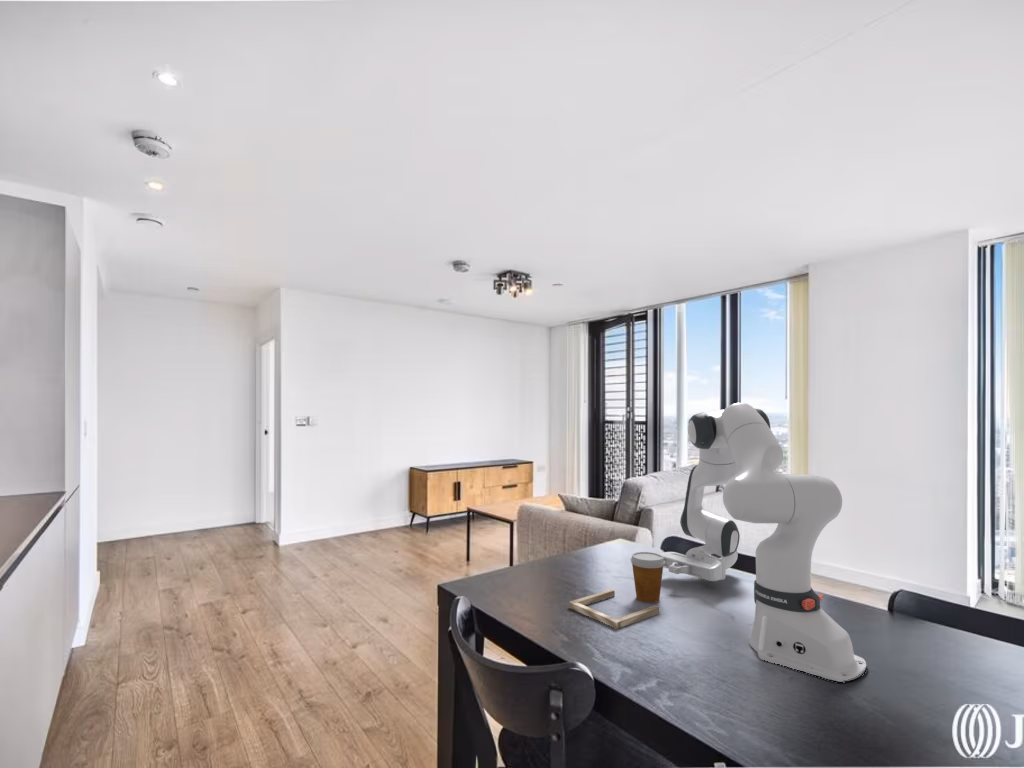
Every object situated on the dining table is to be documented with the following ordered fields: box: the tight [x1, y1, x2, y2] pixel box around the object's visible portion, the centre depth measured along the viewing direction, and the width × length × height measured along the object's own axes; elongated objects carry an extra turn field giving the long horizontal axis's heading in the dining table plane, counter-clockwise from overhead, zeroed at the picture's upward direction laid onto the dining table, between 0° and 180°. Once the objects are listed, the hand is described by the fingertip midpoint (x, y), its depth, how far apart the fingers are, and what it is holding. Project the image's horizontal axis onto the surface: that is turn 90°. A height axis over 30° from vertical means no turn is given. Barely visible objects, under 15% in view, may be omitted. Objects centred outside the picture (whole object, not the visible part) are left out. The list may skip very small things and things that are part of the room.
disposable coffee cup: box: [630, 551, 665, 604], centre depth 149 cm, size 10×10×12 cm
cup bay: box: [568, 588, 660, 630], centre depth 140 cm, size 17×16×2 cm
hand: (672, 570), depth 155 cm, fingers closed
